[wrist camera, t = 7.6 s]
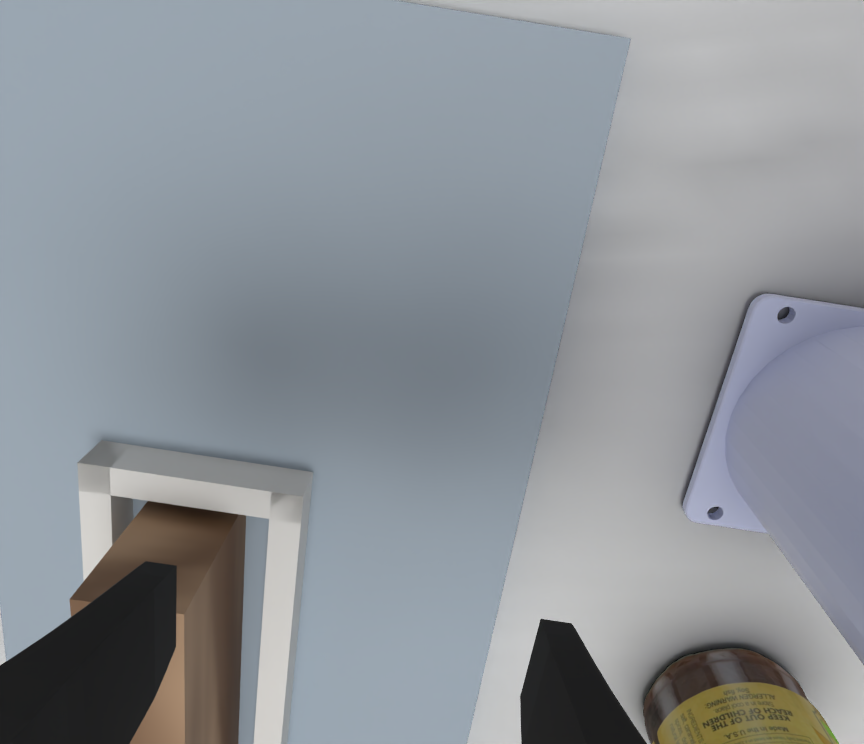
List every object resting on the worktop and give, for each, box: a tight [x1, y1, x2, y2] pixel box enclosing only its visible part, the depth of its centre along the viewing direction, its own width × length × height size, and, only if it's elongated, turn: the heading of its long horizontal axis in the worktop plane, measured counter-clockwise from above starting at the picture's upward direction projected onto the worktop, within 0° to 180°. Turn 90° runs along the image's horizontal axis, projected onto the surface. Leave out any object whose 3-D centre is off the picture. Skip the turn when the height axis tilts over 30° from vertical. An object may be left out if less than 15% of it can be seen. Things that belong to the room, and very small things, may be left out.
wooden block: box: [69, 501, 246, 744], centre depth 22 cm, size 3×12×6 cm, turn 173°
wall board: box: [0, 0, 631, 744], centre depth 22 cm, size 18×30×2 cm, turn 171°
